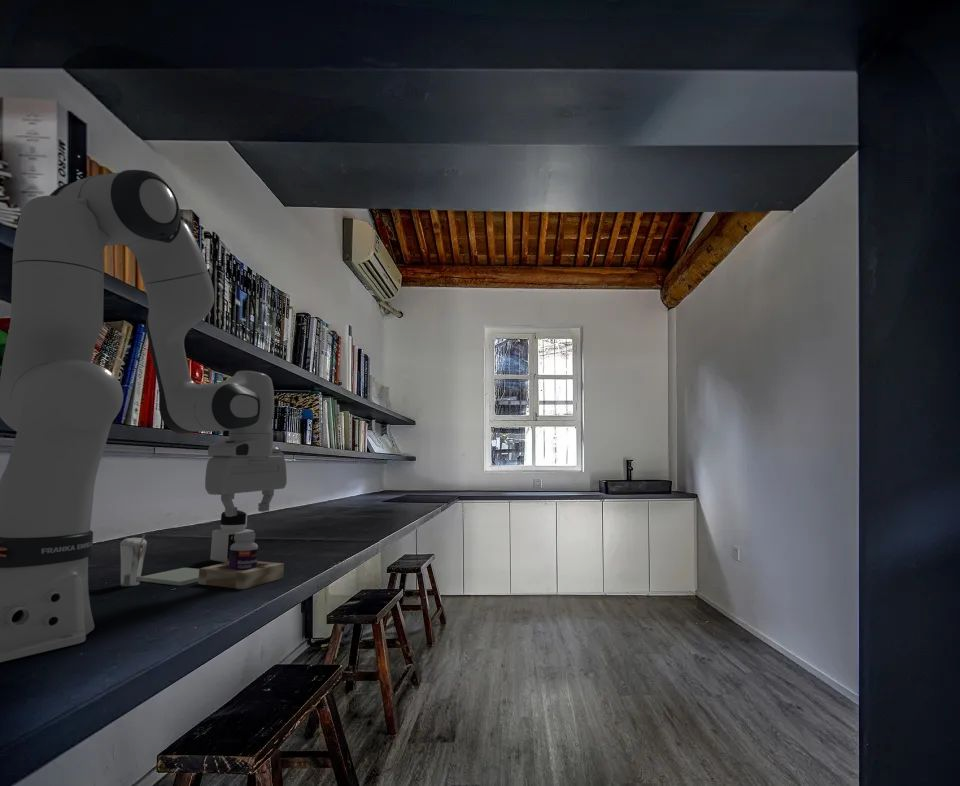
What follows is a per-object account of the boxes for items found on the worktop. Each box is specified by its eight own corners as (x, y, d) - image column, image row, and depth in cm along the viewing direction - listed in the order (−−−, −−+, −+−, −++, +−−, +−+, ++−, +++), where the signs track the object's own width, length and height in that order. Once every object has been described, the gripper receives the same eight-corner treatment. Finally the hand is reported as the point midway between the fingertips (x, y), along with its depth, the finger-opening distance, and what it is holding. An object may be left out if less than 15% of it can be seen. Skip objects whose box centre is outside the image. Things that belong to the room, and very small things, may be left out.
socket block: (243, 589, 110) (244, 572, 110) (198, 583, 114) (199, 567, 114) (283, 578, 121) (284, 562, 121) (240, 573, 125) (241, 558, 125)
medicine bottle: (227, 563, 136) (230, 512, 137) (209, 560, 140) (213, 510, 141) (253, 559, 142) (255, 510, 143) (235, 556, 146) (238, 508, 147)
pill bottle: (236, 585, 114) (239, 535, 115) (222, 581, 117) (225, 533, 118) (261, 580, 118) (264, 532, 119) (246, 577, 121) (249, 530, 122)
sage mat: (180, 585, 112) (180, 581, 112) (139, 580, 116) (139, 576, 116) (222, 575, 122) (223, 571, 122) (184, 571, 126) (184, 567, 126)
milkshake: (128, 588, 109) (132, 535, 110) (111, 585, 111) (116, 533, 112) (151, 584, 113) (155, 533, 114) (134, 581, 115) (139, 531, 116)
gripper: (272, 447, 131) (269, 508, 130) (201, 447, 112) (197, 518, 111) (294, 447, 129) (292, 509, 128) (226, 447, 110) (222, 520, 109)
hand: (247, 513), depth 119 cm, fingers open, 8 cm apart
